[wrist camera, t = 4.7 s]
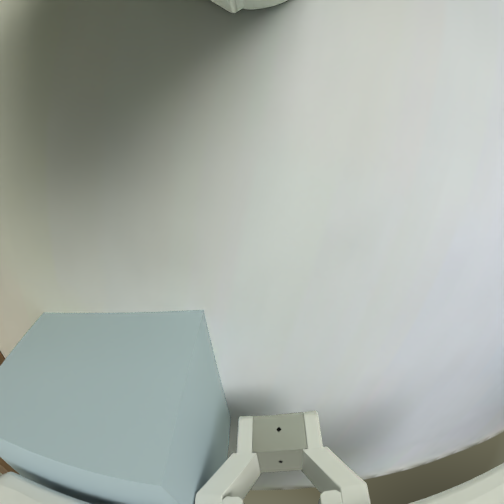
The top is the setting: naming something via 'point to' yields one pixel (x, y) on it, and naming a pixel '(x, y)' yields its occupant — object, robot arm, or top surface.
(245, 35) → the top surface
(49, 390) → the slate block
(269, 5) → the photo printer
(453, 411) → the top surface
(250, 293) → the top surface
